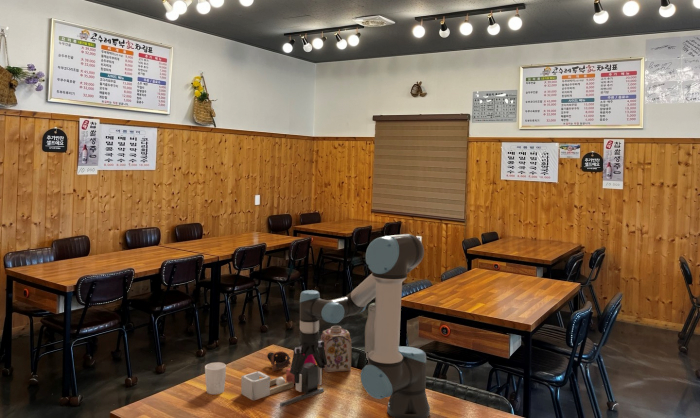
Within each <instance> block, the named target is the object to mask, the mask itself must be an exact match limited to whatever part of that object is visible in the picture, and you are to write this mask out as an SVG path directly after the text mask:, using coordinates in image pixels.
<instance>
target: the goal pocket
mask: <svg viewBox="0 0 700 418" xmlns="http://www.w3.org/2000/svg"><path fill="white" fill-rule="evenodd" d="M240 378H241V380H240V381H241V382H240V383H241V386H240V387H241V388H240V389H241V393H240V394H241V395H242V396H244V397H246V398H248V399H250V400H251V401H252V402H254V401H257V400H259V399H262V398H265V397H268V396H271V395H270V388H271V386H270V380H271V376H269V375H267V374H265V373H263V372H261V371H259V370H258V371H254V372H251V373H248V374H244V375H241V377H240Z"/></svg>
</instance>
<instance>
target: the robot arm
mask: <svg viewBox="0 0 700 418" xmlns="http://www.w3.org/2000/svg"><path fill="white" fill-rule="evenodd" d="M424 255H425V248H424V244H423V243H422V241H421V240H420V238H418V237H417V236H415V235H413V234H410V233H403V234H402V233H401V234H394V235H384V236H380V237H377V238H375V239H373V240H372V241H371V242H370V243H369V245H368V246H367V248H366V252H365V263H366V265H367V268H368V269H369V270H370V271H371V274H369V275H368V276H367V277H366V278H365V279H364V280H363V281H362V282H360V283H359V284H358V286H356V287H355V288H354V289H353V290H352V291H350V293H348V294H347V295H346V296H341V297H338V298H333V299H328V300H326V299H322V298H320V297H321V296H320V292H319V291H318V290H315V289H314V290H313V289H311V290H309V289H307V290H303V291H301V292H300V295H299V296H300V297H299V330H300V331H299V342H300V344H299V346H298V347H293V348H292V349H293V350H292V351H293V355H292V361H291V363H290V368H291V369H290V373H291V374H294V382H295V391H298V392H299V393H301V392H302V375H301V374H300V373H301V370H302V367H303V365H304V362H305V360H306V358H307V357H308V355H310V354H312V355H313V357H314V360H315V363H316V365H318V386H321V385H322V380H323V379H322V376H323V374H324V369H323V368H325V366H324V365H327V360H326V355H325V350H324V342H323V341H321V339H320V331H319V330H320V320H321V321H324V322H327V323H329V324H330V323H331V324H338V323H340V322H341V321H342V320H343V319H344V318H346V317H349V316H355V315H359V314H360V313H363V312H365V310H366V308H367V305H369V303H370V302H372V300H375V302H374V303H375V322H374V344H373V351H371V352H370V353H369V355H368V363H367V364H366V365H364V367H363V368H362V369H361V371H360V380H361V384H362V387H363V389H364V390H365V391H366V393H367V394H368V395H369V396H370V397H372V398H373V399H377V400H382V399H385V398H389V399H388V403H387V410H386V411H387V414H388V415H389V416H390V417H392V418H429V417H430V415H431V407H430V404H429V400H428V396H427V392H426V384H427V383H426V381H427V380H426V379H427V363H428V362H427V354H426V352H425V351H424V350H422V349H420V348H416V347H412V346H401V345H400V336H401V335H400V333H401V331H400V330H401V311H402V309H401V308H402V295H403V294H402V291H403V282H404V281H405V280H406V279H408V274H409V273H410V272H411V271H412V270H414V269H415V268H416V267H418V265H419V264H420V263H421V262H422V261H423V258H424ZM303 354H305V355H303Z"/></svg>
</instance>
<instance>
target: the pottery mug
mask: <svg viewBox="0 0 700 418" xmlns="http://www.w3.org/2000/svg"><path fill="white" fill-rule="evenodd" d="M267 359H268V360H269V362H270V364H271V366H272V367H271V370H272V371H273V372H276V371H278V370H282V369H285V368H287V367H288V366H290V365H291V362H290V360H291V357H290V355H289V354H288V353H287V352H285V351H283V350H282V351H280V350H279V351H276V352H272V351H271V352H268V353H267Z"/></svg>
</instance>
